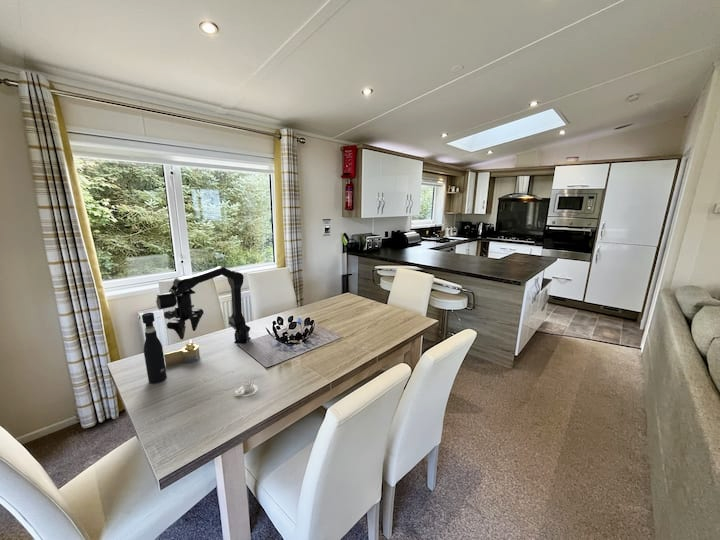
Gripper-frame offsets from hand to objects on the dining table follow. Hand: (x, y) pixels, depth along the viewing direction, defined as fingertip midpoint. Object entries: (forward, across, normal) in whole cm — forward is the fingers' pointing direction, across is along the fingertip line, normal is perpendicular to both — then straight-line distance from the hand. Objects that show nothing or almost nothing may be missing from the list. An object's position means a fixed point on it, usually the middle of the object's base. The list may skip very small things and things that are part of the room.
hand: (188, 334), depth 137 cm
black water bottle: (+13, +17, -4) cm, 22 cm away
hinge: (+13, -1, -2) cm, 13 cm away
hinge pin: (+13, 0, 0) cm, 13 cm away
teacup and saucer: (+14, +21, +34) cm, 43 cm away
